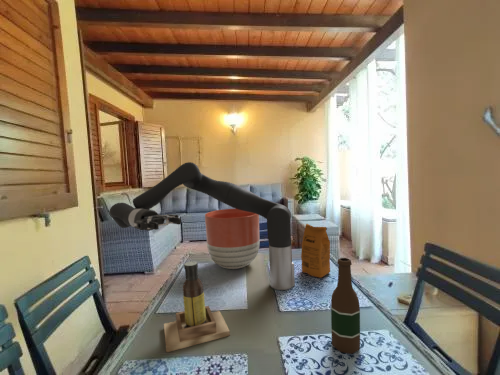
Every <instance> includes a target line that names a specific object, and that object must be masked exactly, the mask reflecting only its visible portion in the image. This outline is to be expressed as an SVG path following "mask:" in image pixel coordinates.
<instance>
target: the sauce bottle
mask: <svg viewBox="0 0 500 375" xmlns="http://www.w3.org/2000/svg"><path fill="white" fill-rule="evenodd" d="M183 267H184V268H183V269H184V273H185V278H184V279H185V280H184V281H183V283H182V284H183V285H182V298H183V307H184V309H183V311H185V322H186V327H187V328H188V327H192V326H196V325H201V324H205V323H206V312H205V306H206V303H205V302H206V301H205V291H204V284H203V282H202V279H200V278H199V270H198V268H199V264H198V261H194V260H190V261H187V262H185V263H184V264H183Z"/></svg>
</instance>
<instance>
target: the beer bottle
mask: <svg viewBox="0 0 500 375" xmlns="http://www.w3.org/2000/svg"><path fill="white" fill-rule="evenodd" d="M352 264H353V263H352V259H351V258H348V257H340V258H338V259H337V265H338V268H337V272H338V273H337V285H336V287H335V289H334V290H333V292H332V294H331V300H330V301H331V302H330V306H331V307H330V314H331V316H330V320H331V345H332V347H334V348H335V349H336V350H337V351H338V352H340V353H344V354H345V353H346V354H350V355H352V354H355V353H357V352H358V351H360V350H361V308H360V302H359V297H358V294H357V292H356V291H355V290H354V288H353V281H352V269H351V266H352Z"/></svg>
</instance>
